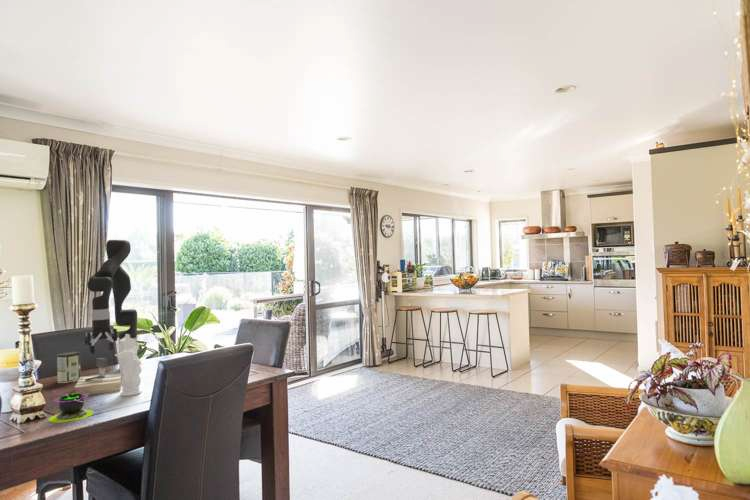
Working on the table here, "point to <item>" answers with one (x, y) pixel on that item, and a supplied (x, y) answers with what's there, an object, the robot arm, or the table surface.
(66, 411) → the toy cauldron
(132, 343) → the milk
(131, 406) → the table surface
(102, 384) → the dial board
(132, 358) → the cherub figurine
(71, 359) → the grey-green carton
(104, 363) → the lever
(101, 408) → the table surface
